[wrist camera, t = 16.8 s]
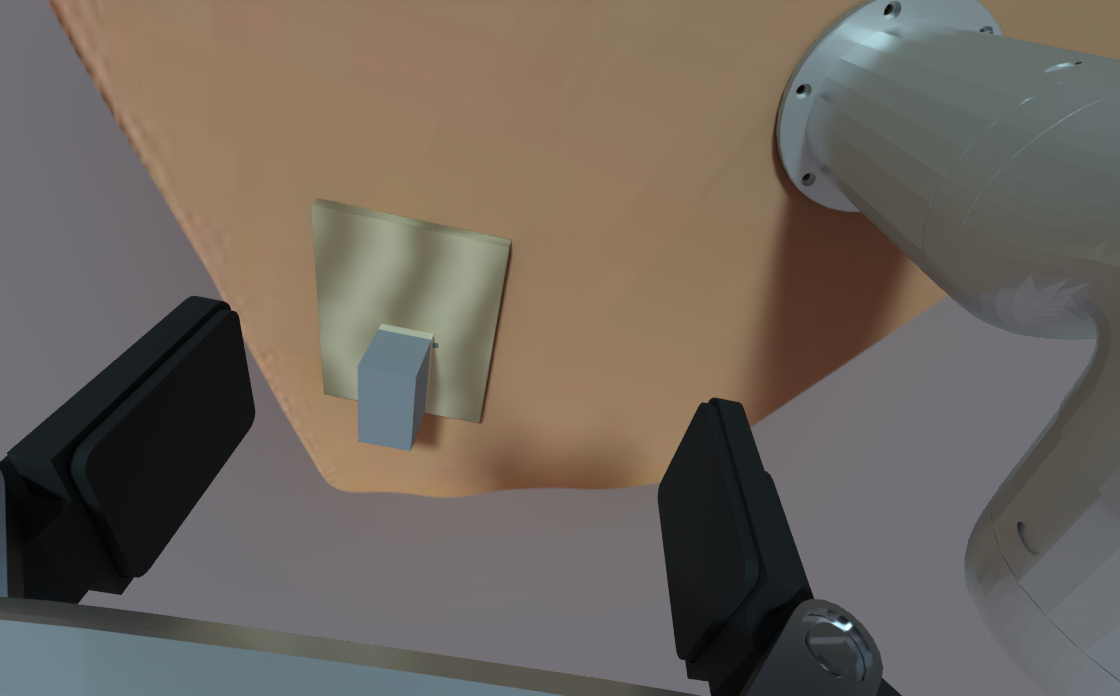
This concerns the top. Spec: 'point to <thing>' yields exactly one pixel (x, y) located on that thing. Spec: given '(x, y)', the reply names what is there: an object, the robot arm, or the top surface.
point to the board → (408, 298)
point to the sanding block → (394, 386)
